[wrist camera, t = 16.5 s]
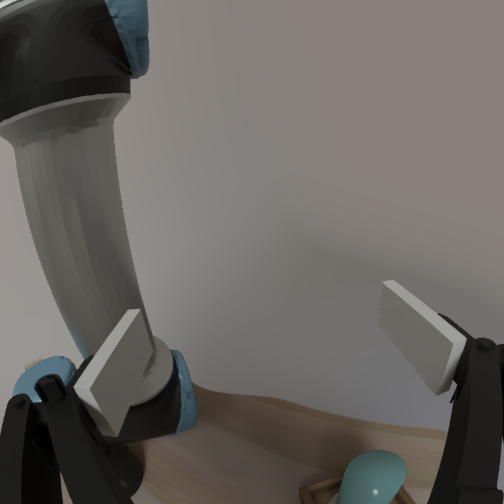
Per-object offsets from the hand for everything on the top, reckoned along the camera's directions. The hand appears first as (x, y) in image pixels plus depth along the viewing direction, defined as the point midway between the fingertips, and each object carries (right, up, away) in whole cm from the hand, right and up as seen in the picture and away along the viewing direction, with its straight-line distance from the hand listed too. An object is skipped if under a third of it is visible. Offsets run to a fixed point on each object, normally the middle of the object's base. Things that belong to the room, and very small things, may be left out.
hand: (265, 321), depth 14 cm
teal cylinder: (+14, -31, +9) cm, 35 cm away
